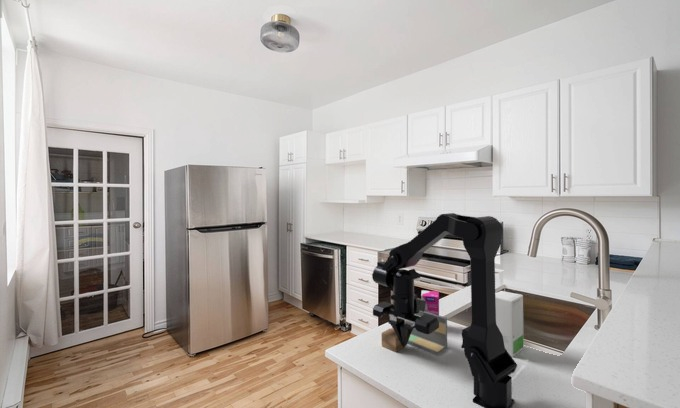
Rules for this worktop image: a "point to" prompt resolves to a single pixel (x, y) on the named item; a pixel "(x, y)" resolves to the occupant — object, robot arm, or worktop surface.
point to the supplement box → (431, 301)
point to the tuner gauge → (430, 336)
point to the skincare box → (510, 320)
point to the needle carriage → (391, 340)
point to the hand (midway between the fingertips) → (404, 346)
